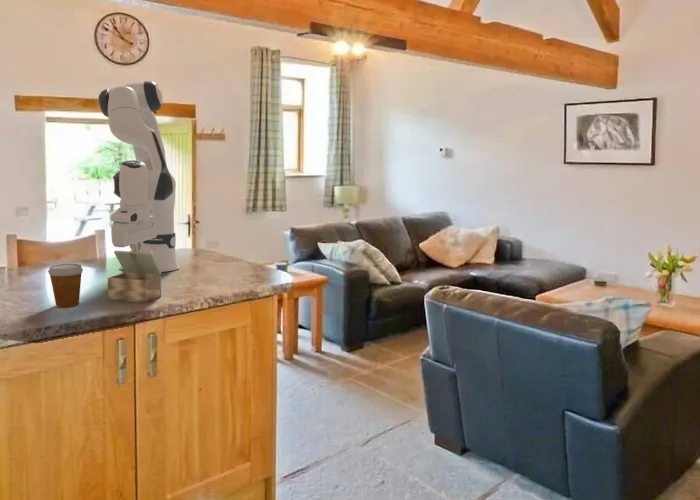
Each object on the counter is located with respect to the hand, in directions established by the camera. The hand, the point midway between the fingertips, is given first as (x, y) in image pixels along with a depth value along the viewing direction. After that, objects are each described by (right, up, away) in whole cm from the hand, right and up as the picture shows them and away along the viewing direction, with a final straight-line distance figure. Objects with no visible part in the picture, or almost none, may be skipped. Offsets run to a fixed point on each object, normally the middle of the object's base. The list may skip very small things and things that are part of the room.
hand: (136, 256), depth 197 cm
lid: (0, -2, 0) cm, 2 cm away
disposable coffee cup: (-17, -15, -10) cm, 25 cm away
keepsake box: (0, -13, 0) cm, 13 cm away
